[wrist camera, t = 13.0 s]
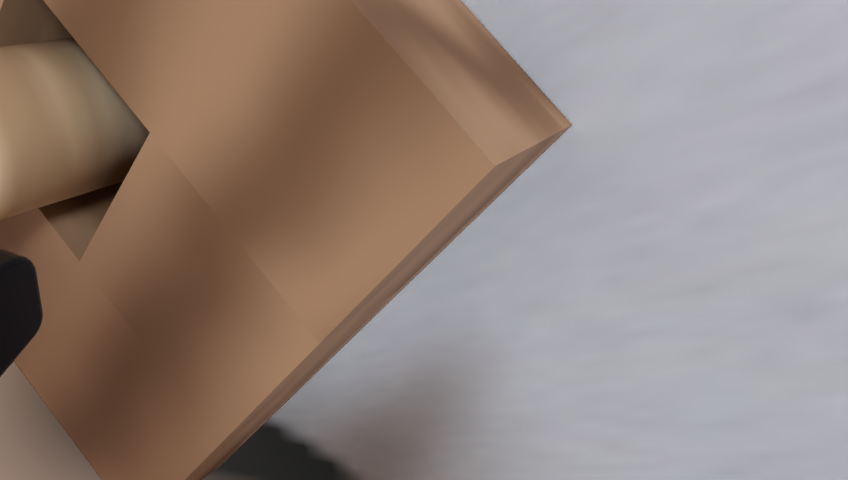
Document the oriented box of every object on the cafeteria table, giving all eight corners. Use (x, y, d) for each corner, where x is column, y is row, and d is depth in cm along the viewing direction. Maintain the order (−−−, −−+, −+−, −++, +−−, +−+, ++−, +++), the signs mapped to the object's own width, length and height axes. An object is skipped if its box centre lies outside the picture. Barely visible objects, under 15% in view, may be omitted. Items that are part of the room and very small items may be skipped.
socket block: (571, 125, 18) (495, 166, 15) (221, 464, 30) (137, 527, 27) (70, -438, 21) (-88, -504, 18) (-72, 83, 33) (-180, 100, 29)
